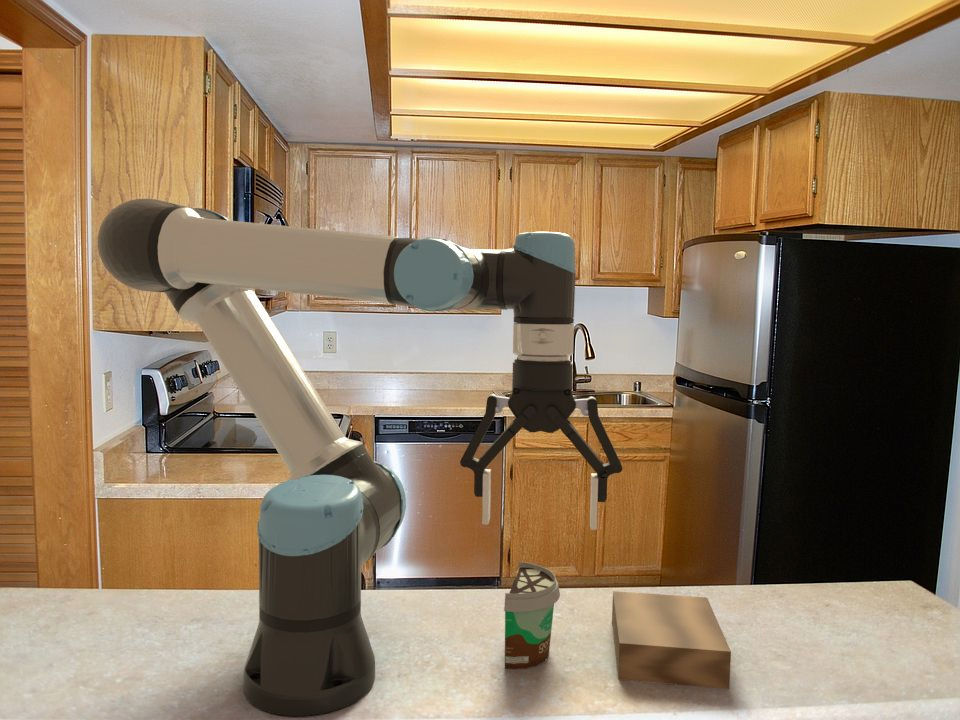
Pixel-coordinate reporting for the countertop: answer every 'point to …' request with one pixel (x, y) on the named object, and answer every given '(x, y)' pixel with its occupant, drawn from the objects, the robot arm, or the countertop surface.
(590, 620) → the countertop surface
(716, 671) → the walnut block
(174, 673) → the countertop surface
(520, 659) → the food container
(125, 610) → the countertop surface
